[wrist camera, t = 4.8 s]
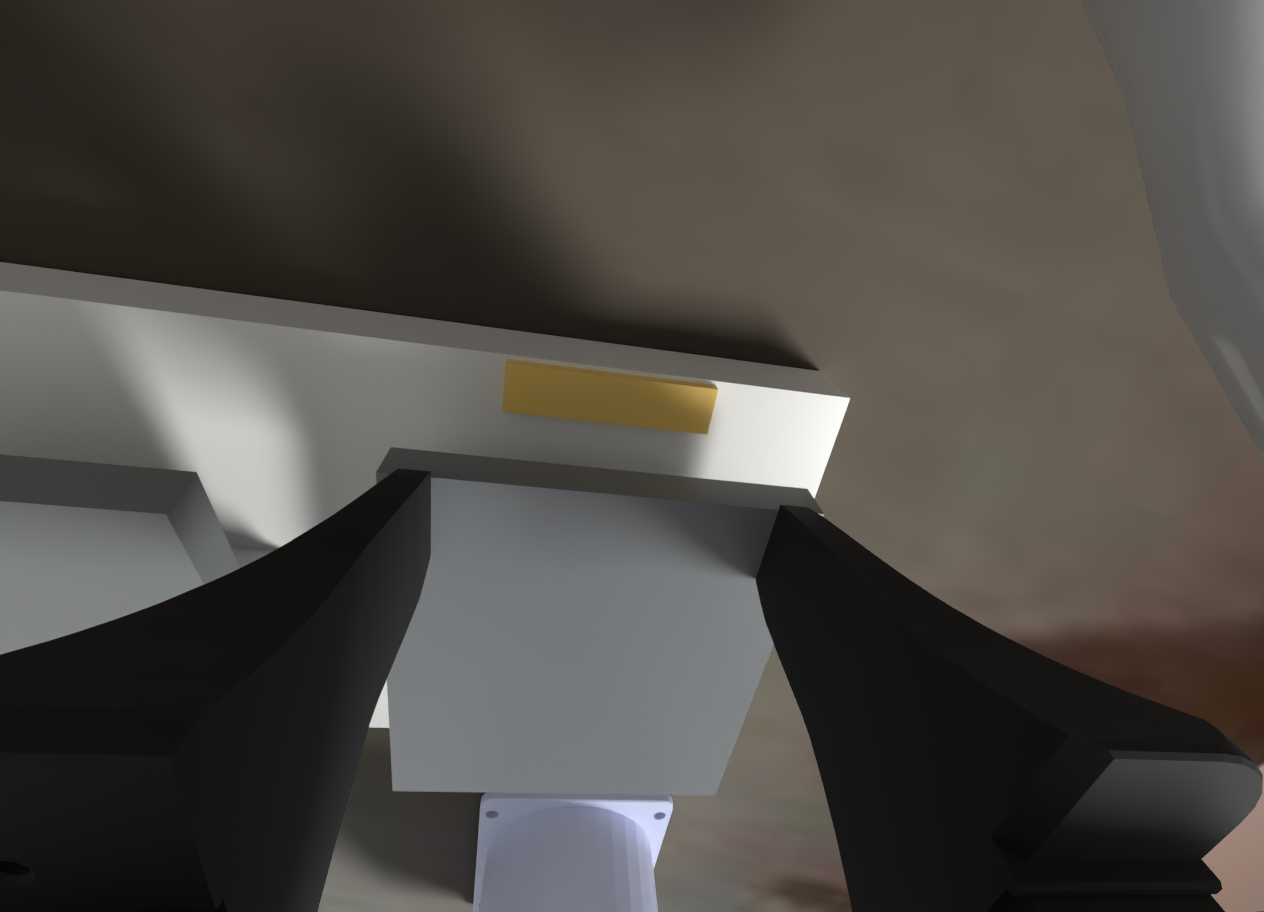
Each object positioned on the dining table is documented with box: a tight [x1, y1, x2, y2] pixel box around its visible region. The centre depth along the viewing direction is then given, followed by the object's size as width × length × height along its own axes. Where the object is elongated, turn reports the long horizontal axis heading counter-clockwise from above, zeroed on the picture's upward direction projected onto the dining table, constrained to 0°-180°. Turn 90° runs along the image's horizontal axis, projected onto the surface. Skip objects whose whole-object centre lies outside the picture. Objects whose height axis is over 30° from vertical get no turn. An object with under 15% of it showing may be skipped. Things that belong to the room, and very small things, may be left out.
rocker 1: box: [0, 454, 240, 654], centre depth 13 cm, size 10×10×2 cm
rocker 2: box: [376, 447, 824, 796], centre depth 15 cm, size 10×10×2 cm
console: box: [0, 262, 850, 728], centre depth 16 cm, size 13×24×3 cm, turn 81°
